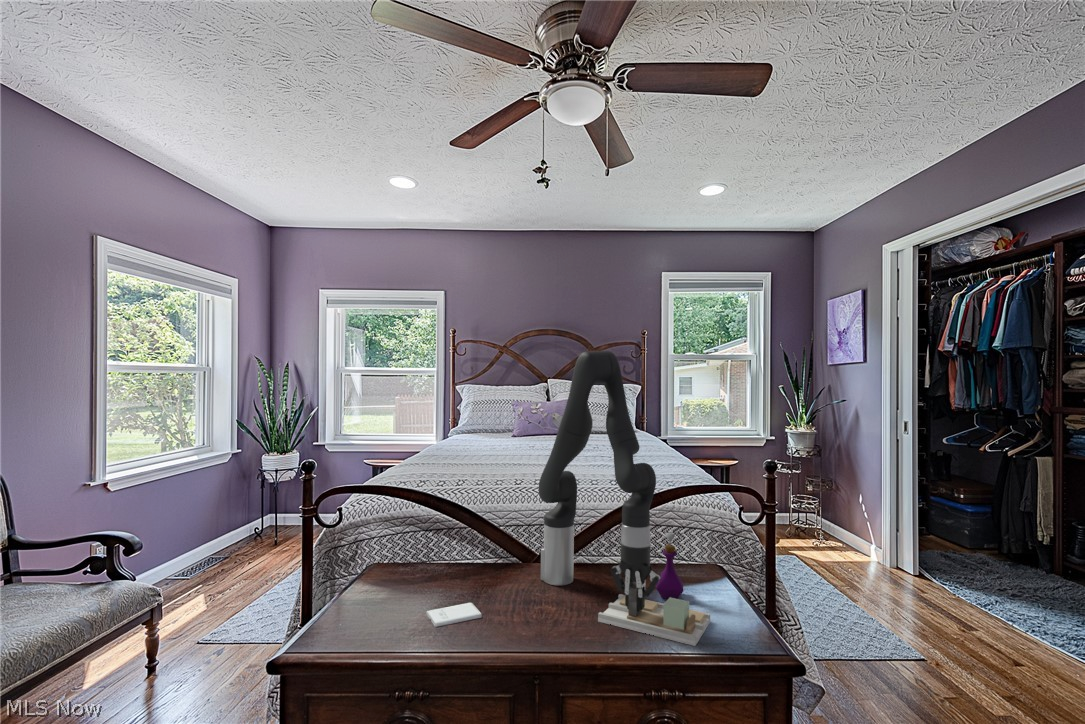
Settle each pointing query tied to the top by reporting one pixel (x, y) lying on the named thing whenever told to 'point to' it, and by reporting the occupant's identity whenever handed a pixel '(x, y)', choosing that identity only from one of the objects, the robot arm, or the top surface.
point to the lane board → (619, 618)
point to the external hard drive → (453, 614)
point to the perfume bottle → (669, 574)
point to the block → (676, 613)
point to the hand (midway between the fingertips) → (635, 609)
